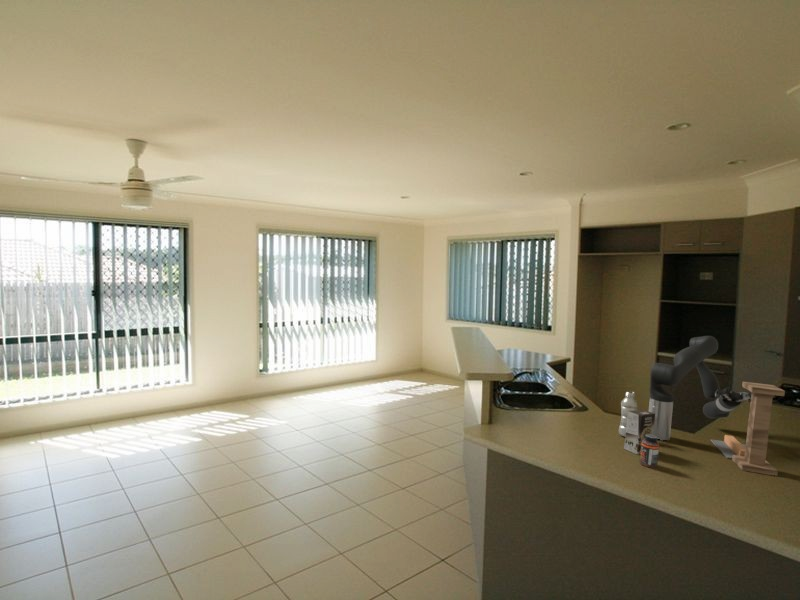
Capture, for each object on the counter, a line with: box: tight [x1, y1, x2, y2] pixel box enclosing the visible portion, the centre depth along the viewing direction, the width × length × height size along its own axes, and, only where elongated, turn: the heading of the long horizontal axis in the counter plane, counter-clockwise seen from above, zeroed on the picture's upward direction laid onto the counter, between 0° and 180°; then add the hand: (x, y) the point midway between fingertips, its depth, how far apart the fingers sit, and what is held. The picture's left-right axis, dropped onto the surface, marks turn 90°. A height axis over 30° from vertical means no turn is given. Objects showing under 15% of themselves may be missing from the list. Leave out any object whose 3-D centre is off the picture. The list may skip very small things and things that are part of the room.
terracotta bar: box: [723, 434, 745, 457], centre depth 196 cm, size 20×3×3 cm, turn 160°
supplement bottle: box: [639, 434, 660, 469], centre depth 175 cm, size 6×6×11 cm
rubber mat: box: [710, 439, 746, 460], centre depth 195 cm, size 22×14×1 cm, turn 161°
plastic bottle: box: [618, 390, 638, 438], centre depth 206 cm, size 6×7×20 cm
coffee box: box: [623, 409, 655, 455], centre depth 189 cm, size 9×6×16 cm
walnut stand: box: [731, 381, 786, 477], centre depth 178 cm, size 11×11×32 cm
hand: (741, 390), depth 197 cm, fingers open, 8 cm apart
